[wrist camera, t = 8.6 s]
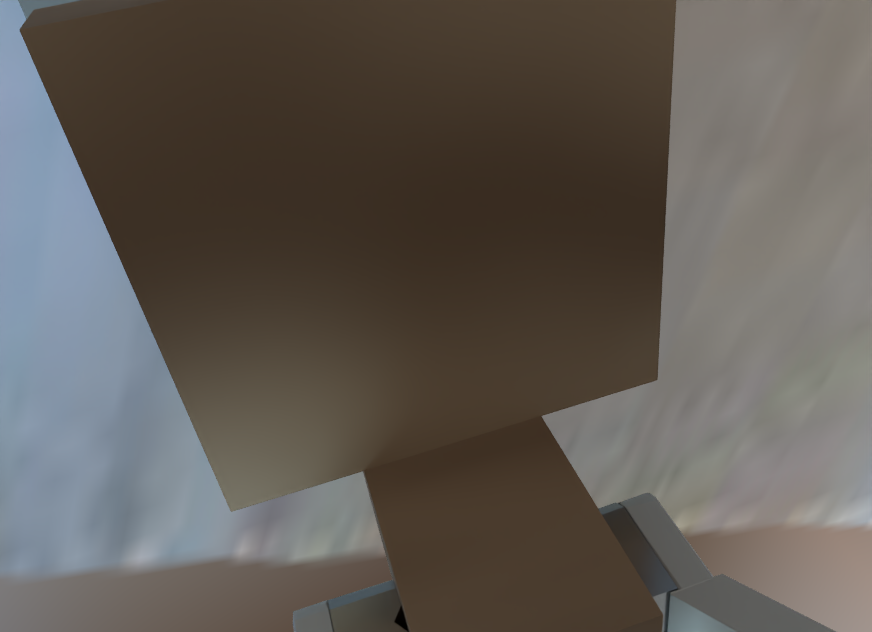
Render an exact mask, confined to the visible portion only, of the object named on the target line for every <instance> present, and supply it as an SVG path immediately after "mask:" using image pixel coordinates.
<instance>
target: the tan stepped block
mask: <svg viewBox="0 0 872 632" xmlns="http://www.w3.org/2000/svg"><path fill="white" fill-rule="evenodd" d="M675 12H676V0H80V1H75V2H70V3H65V4H60V5H55V6H50V7H45V8H40V9H35V10H33V11H32V13H31V14H30V16H29V17H28V18H27V20H26V21H25V23H24V24H23V25H22V27H21V28H20V32H21V35H22V37H23V39H24V41H25V44H26V46H27V48H28V51H29V53H30V55H31V57H32V60H33V62H34V64H35V66H36V69H37V71H38V73H39V76H40V78H41V80H42V82H43V85H44V87H45V89H46V92H47V94H48V96H49V98H50V101H51V103H52V105H53V107H54V110H55V112H56V114H57V117H58V119H59V121H60V123H61V126H62V128H63V130H64V133H65V135H66V137H67V139H68V142H69V144H70V146H71V148H72V151H73V153H74V155H75V158H76V160H77V162H78V164H79V167H80V169H81V171H82V174H83V176H84V178H85V180H86V183H87V185H88V187H89V189H90V192H91V194H92V196H93V199H94V201H95V203H96V205H97V208H98V210H99V212H100V215H101V217H102V219H103V221H104V224H105V226H106V228H107V230H108V233H109V235H110V237H111V240H112V242H113V244H114V246H115V249H116V251H117V253H118V256H119V258H120V260H121V262H122V265H123V267H124V269H125V271H126V274H127V276H128V278H129V281H130V283H131V285H132V287H133V290H134V292H135V294H136V297H137V299H138V301H139V303H140V306H141V308H142V310H143V312H144V315H145V317H146V319H147V322H148V324H149V326H150V328H151V331H152V333H153V335H154V338H155V340H156V342H157V344H158V347H159V349H160V351H161V353H162V356H163V358H164V360H165V363H166V365H167V367H168V369H169V372H170V374H171V376H172V379H173V381H174V383H175V385H176V388H177V390H178V392H179V394H180V397H181V399H182V401H183V404H184V406H185V408H186V410H187V413H188V415H189V417H190V420H191V422H192V424H193V426H194V429H195V431H196V433H197V435H198V438H199V440H200V442H201V445H202V447H203V449H204V451H205V454H206V456H207V458H208V461H209V463H210V465H211V467H212V470H213V472H214V474H215V476H216V479H217V481H218V483H219V486H220V488H221V490H222V492H223V495H224V497H225V499H226V502H227V504H228V506H229V508H230V511H231V512H232V511H236V510H239V509H242V508H245V507H249V506H252V505H255V504H258V503H262V502H265V501H268V500H271V499H274V498H278V497H281V496H284V495H287V494H291V493H294V492H297V491H300V490H304V489H307V488H310V487H313V486H316V485H320V484H323V483H326V482H329V481H333V480H336V479H339V478H342V477H346V476H349V475H352V474H355V473H358V472H362V471H363V473H364V477H365V480H366V484H367V488H368V491H369V495H370V499H371V502H372V506H373V510H374V513H375V517H376V521H377V524H378V528H379V532H380V535H381V539H382V543H383V547H384V550H385V554H386V558H387V561H388V564H389V569H390V572H391V575H392V579H393V580H394V582H395V585H396V589H397V592H398V596H399V599H400V602H401V606H402V610H403V613H404V617H405V621H406V624H407V628H408V632H662V626H663V613H662V612H661V610H660V608H659V607H658V605H657V603H656V602H655V600H654V599H653V597H652V595H651V594H650V592H649V590H648V589H647V587H646V586H645V584H644V582H643V581H642V579H641V577H640V576H639V574H638V573H637V571H636V569H635V568H634V566H633V564H632V563H631V561H630V560H629V558H628V556H627V555H626V553H625V552H624V550H623V548H622V547H621V545H620V543H619V542H618V540H617V539H616V537H615V535H614V534H613V532H612V530H611V529H610V527H609V526H608V524H607V522H606V521H605V519H604V517H603V516H602V514H601V513H600V511H599V509H598V508H597V506H596V504H595V503H594V501H593V500H592V498H591V496H590V495H589V493H588V491H587V490H586V488H585V487H584V485H583V483H582V482H581V480H580V478H579V477H578V475H577V474H576V472H575V470H574V469H573V467H572V465H571V464H570V462H569V461H568V459H567V457H566V456H565V454H564V452H563V451H562V449H561V448H560V446H559V444H558V443H557V441H556V439H555V438H554V436H553V435H552V433H551V431H550V430H549V428H548V427H547V425H546V423H545V422H544V420H543V418H542V417H541V416H543V415H546V414H549V413H552V412H556V411H559V410H562V409H565V408H568V407H572V406H575V405H578V404H581V403H585V402H588V401H591V400H594V399H598V398H601V397H604V396H607V395H610V394H614V393H617V392H620V391H623V390H627V389H630V388H633V387H636V386H640V385H643V384H646V383H649V382H652V381H656V380H657V377H658V357H659V337H660V316H661V296H662V276H663V256H664V235H665V215H666V195H667V174H668V154H669V134H670V114H671V93H672V73H673V53H674V32H675Z"/></svg>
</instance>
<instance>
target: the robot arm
mask: <svg viewBox="0 0 872 632" xmlns="http://www.w3.org/2000/svg"><path fill="white" fill-rule="evenodd" d="M599 511H600V513H601V514H602V516H603V517H604V519H605V521H606V522H607V524H608V526H609V527H610V529H611V530H612V532H613V534H614V535H615V537H616V539H617V540H618V542H619V543H620V545H621V547H622V548H623V550H624V552H625V553H626V555H627V556H628V558H629V560H630V561H631V563H632V564H633V566H634V568H635V569H636V571H637V573H638V574H639V576H640V577H641V579H642V581H643V582H644V584H645V586H646V587H647V589H648V590H649V592H650V594H651V595H652V597H653V599H654V600H655V602H656V603H657V605H658V607H659V608H660V610H661V612H662V613H663V626H662V632H836V631H834V630H832V629H830V628H828V627H826V626H824V625H822V624H820V623H818V622H816V621H814V620H812V619H810V618H808V617H806V616H804V615H802V614H800V613H798V612H796V611H794V610H792V609H790V608H788V607H787V606H785V605H783V604H780V603H779V602H777V601H775V600H773V599H771V598H769V597H767V596H765V595H763V594H761V593H759V592H757V591H755V590H753V589H751V588H749V587H747V586H745V585H743V584H741V583H739V582H737V581H736V580H734V579H732V578H730V577H728V576H726V575H724V574H721V575H718V576H714V577H713V575H712V574H711V573H710V571H709V570H708V569H707V567H706V566H705V564H704V563H703V562H702V560H701V559H700V557H699V556H698V555H697V554H696V552H695V551H694V549H693V548H692V546H691V545H690V544H689V542H688V541H687V540H686V538H685V537H684V535H683V534H682V533H681V531H680V530H679V529H678V527H677V526H676V524H675V523H674V522H673V520H672V519H671V518H670V516H669V515H668V513H667V512H666V511H665V509H664V508H663V507H662V505H661V504H660V502H659V501H658V500H657V498H656V497H655V496H653V495H652V494H650V493H645V494H642V495H639V496H636V497H633V498H631V499H628V500H625V501H622V502H620V503H613V504H610V505H607V506H605V507H602V508H599ZM293 627H294V632H408V628H407V624H406V621H405V617H404V613H403V610H402V606H401V602H400V599H399V596H398V592H397V589H396V585H395V582H394V580H391V581H388V582H384V583H382V584H378V585H375V586H372V587H369V588H366V589H362V590H359V591H356V592H353V593H350V594H346V595H343V596H340V597H337V598H334V599H331V600H327V601H324V602H321V603H318V604H315V605H312V606H309V607H306V608H303V609H300V610H297V611H294V612H293Z"/></svg>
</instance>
